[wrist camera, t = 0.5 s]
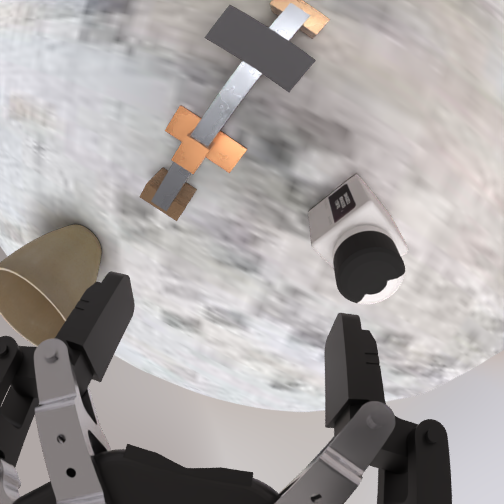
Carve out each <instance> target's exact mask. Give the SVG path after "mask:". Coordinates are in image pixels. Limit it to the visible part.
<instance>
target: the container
mask: <svg viewBox="0 0 504 504" xmlns="http://www.w3.org/2000/svg"><path fill="white" fill-rule="evenodd" d="M308 218H309V227H310V237H311V246H312V248H313V249H314V250H315V251H316V252H317V253H318V254H319V255H320V256H321V257H322V258H323V259H324V260H325V261H326V262H327V263H328V264H329V265H330V266H331V267H332V268H333V269H334V271H335V277H336V284H337V287H338V290H339V292H340V293H341V294H342V295H343V296H344V297H345V298H346V299H348V300H350V301H352V302H355V303H359V304H374V303H378V302H380V301H383V300H385V299H387V298H388V297H390V296H391V295H392V294H394V293H395V292H396V290H397V289H398V288H399V287H400V285H401V283H402V281H403V279H404V276H405V266H404V263H403V260H402V258H401V257H402V256H403V255H405V254H406V253H407V252H408V251H409V249H408V246H407V244H406V242H405V241H404V239H403V237H402V235H401V233H400V231H399V229H398V227H397V226H396V224H395V222H394V220H393V218H392V217H391V215H390V214H389V213H388V211H387V210H386V209H385V207H384V206H383V205H382V203H381V202H380V201H379V200H378V198H377V197H376V196H375V195H374V193H373V192H372V191H371V190H370V188H369V187H368V186H367V185H366V183H365V182H364V181H363V180H362V179H361V177H360V176H359V175H357V174H355V175H354V176H352V177H351V178H350V179H349V180H347V181H346V182H345V183H344V184H342V185H341V186H340V187H339V188H337V189H336V190H335V191H334V192H332V193H331V194H330V195H329V196H327V197H326V198H325V199H324V200H322V201H321V202H320V203H319V204H317V205H316V206H315V207H313V208H312V209H311V210H310V211H309V212H308Z"/></svg>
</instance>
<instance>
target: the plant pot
mask: <svg viewBox="0 0 504 504" xmlns="http://www.w3.org/2000/svg"><path fill="white" fill-rule="evenodd" d="M100 259H101V246H100V243H99V241H98V239H97V238H96V236H95V235H94V234H93V233H92V232H91V231H90V230H89V229H87V228H86V227H84V226H81V225H77V224H74V225H69V226H66V227H63V228H60V229H57V230H55V231H52V232H50V233H47V234H45V235H43V236H41V237H39V238H37V239H35V240H33V241H31V242H30V243H28V244H26V245H24V246H23V247H21V248H20V249H18V250H17V251H15V252H14V253H12V254H11V255H9V256H8V257H7V258H5V259H4V260H3V261H1V262H0V314H1V315H2V317H3V318H4V319H5V320H6V322H7V323H8V324H9V325H10V326H11V327H12V328H13V329H14V330H15V331H16V332H18V333H19V334H20V335H21V336H22V337H24V338H25V339H26V340H27V341H29V342H30V343H32V344H34V345H35V346H38V345H39V344H40V343H42V342H43V341H45V340H47V339H54V338H55V337H56V335H57V334H58V332H59V331H60V329H61V327H62V326H63V324H64V323H65V321H66V320H67V318H68V316H69V315H70V313H71V312H72V310H73V309H75V306H76V304H77V303H78V301H80V298H81V297H82V295H83V294H84V292H85V291H86V289H88V288H89V287H90V286H92V285H93V284H94V283H96V279H97V274H98V270H99V265H100Z"/></svg>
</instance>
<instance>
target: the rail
mask: <svg viewBox="0 0 504 504" xmlns="http://www.w3.org/2000/svg"><path fill="white" fill-rule="evenodd" d="M270 6H271V10H272V12H273V13H275V14H276V15H278V18H277V19H276V20H275V21H274V22H273V24H272V25H271V26H270V27H269V28H270V29H272V30H273V31H275V32H276V33H278V34H279V35H281V36H282V37H284V38H285V39H287V40H288V41H290V40H291V38H292V37H293V36H294V35H295V34H296V33H297V31H298V30H300V31H302V32H303V33H305V34H306V35H308V36H309V37H310V38H312V39H313V38H314V37H315V36H316V35H317V34H318V33H319V31H320V30H321V29H322V28H323V27H324V26H325V25H326V24H327V22H328V21H329V20H330V19H329V18H327V17H326V16H324V15H323V14H322V13H320V12H319V11H317V10H316V9H315V8H313V7H312V6H310V5H309V4H307V3H306V2H304V1H303V0H272V1H271V2H270ZM261 75H262V73H260V72H259V71H258V70H256V69H254V68H253V67H251V66H250V65H248V64H247V63H245V62H244V61H242V62H241V64H240V65H239V66H238V68H237V69H236V70H235V72H234V73H233V74H232V76H231V77H230V79H229V80H228V81H227V83H226V84H225V85H224V87H223V88H222V90H221V91H220V92H219V94H218V95H217V97H216V98H215V100H214V101H213V102H212V104H211V105H210V107H209V108H208V110H207V111H206V113H205V114H204V116H203V117H202V118H200V117H199V116H197V115H195V114H194V113H192V112H191V111H189V110H188V109H186V108H184V107H183V106H180V107H179V108H178V110H177V112H176V113H175V115H174V116H173V118H172V120H171V121H170V123H169V125H168V126H167V128H166V130H165V131H166V132H168V133H169V134H171V135H172V136H174V137H175V138H177V139H179V140H180V141H182V143H181V145H180V146H179V148H178V150H177V151H176V153H175V155H174V156H173V158H172V159H171V160H172V161H174V163H173V164H172V166H171V168H170V169H169V171H168V170H166V169H165V168H162V169H161V170H160V171H159V172H158V173H157V174H156V175H155V176H154V177H153V178H152V179H151V180H150V181H149V182H148V183H147V184H146V186H145V188H144V190H143V191H142V193H141V195H140V198H142V199H143V200H145V201H146V202H148V203H150V204H151V205H153V206H154V207H156V208H157V209H159V210H160V211H162V212H163V213H165V214H167V215H168V216H170V217H171V218H173V219H174V220H176V221H177V220H178V218H179V217H180V215H181V214H182V212H183V211H184V209H185V208H186V206H187V204H188V203H189V201H190V200H191V198H192V197H193V195H194V193H195V192H196V190H197V189H195V188H194V187H192V186H191V185H189V184H188V183H186V181H187V179H188V178H189V176H190V175H191V173H192V174H194V173H195V171H196V170H197V169H198V168H199V166H200V165H201V163H202V162H203V160H204V159H205V157H206V158H208V159H209V160H211V161H212V162H214V163H215V164H217V165H218V166H220V167H221V168H223V169H224V170H226V171H227V172H229V173H230V172H231V170H232V169H233V168H234V166H235V165H236V164H237V162H238V161H239V160H240V158H241V157H242V156H243V154H244V153H245V152H246V150H247V148H245V147H244V146H242V145H241V144H239V143H238V142H236V141H235V140H234V139H232V138H231V137H229V136H228V135H226V134H225V133H223V132H222V131H220V130H221V129H222V128H223V126H224V125H225V123H226V122H227V120H228V119H229V118H230V116H231V115H232V114H233V112H234V111H235V109H236V108H237V107H238V105H239V104H240V103H241V101H242V100H243V99H244V97H245V96H246V95H247V93H248V92H249V91H250V89H251V88H252V87H253V85H254V84H255V83H256V82H257V80H258V79H259V78H260V76H261Z"/></svg>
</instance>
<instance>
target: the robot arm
mask: <svg viewBox="0 0 504 504" xmlns="http://www.w3.org/2000/svg"><path fill="white" fill-rule="evenodd" d="M133 312H134V298H133V293H132V288H131V283H130V278H129V276H128V275H125V274H120V273H116V272H109V273H108V274H107V275H106V277H105V278H104V280H103V281H102V283H100V282H96V283H94V284H93V285H92V286H90V287H89V288H88V289H86V291H85V292H84V294H83V295H82V297H81V298H80V301H78V303H77V304H76V306H75V309H73V310H72V312H71V313H70V315H69V316H68V318H67V320H66V321H65V323H64V324H63V326H62V327H61V329H60V331H59V332H58V334H57V335H56V337H55V338H54V339H47V340H45V341H43V342H42V343H40V344H39V345H38V346H37V347H26V346H18V344H17V343H16V341H15V340H14V339H13V338H12V337H9V336H3V337H0V504H344V503H345V502H346V500H347V499H348V498H349V497H350V495H351V494H352V493H353V492H354V490H355V489H356V488H357V487H358V485H359V484H360V482H361V480H362V475H363V473H364V471H365V470H366V469H367V467H368V466H369V465H370V466H373V467H377V468H379V470H378V496H377V504H452V492H451V491H452V490H451V470H450V458H449V447H448V438H447V433H446V430H445V428H444V427H443V425H442V424H441V423H439V422H438V421H436V420H432V419H428V420H424V421H422V422H421V423H420V424H419V425H418V424H415V423H412V422H408V421H405V420H402V419H400V418H398V417H396V416H395V415H394V413H393V411H392V410H391V409H390V408H389V407H388V406H387V405H386V403H385V399H384V391H383V383H382V376H381V369H380V366H379V357H378V350H377V344H376V341H375V339H374V338H373V336H372V334H371V333H370V331H369V330H362V329H361V322H360V317H359V316H358V315H352V314H345V313H339V314H338V315H337V317H336V319H335V322H334V324H333V326H332V328H331V331H330V333H329V335H328V337H327V340H326V344H325V411H326V413H325V414H326V415H325V417H326V419H325V421H326V422H325V423H326V425H325V427H327V428H334V437H333V438H332V439H331V441H330V442H329V443H328V444H327V445H326V446H325V447H324V448H323V449H322V450H321V452H320V453H319V454H318V455H317V456H316V457H315V458H314V459H313V460H312V461H311V463H310V464H309V465H308V466H307V467H306V468H305V469H304V470H303V471H302V472H301V473H300V474H299V475H298V476H297V477H296V478H295V479H293V480H292V481H291V482H290V483H289V484H288V485H287V486H286V487H285V488H284V489H283V490H282V491H281V492H280V493H279V494H278V493H277V492H276V491H275V490H274V489H272V488H271V487H270V486H268V485H267V484H265V483H263V482H261V481H259V480H257V479H254V478H253V472H247V471H239V470H233V469H227V468H185V467H183V466H181V465H179V464H177V463H175V462H173V461H171V460H169V459H167V458H165V457H163V456H162V455H160V454H158V453H155V452H152V451H148V450H145V449H142V448H139V447H136V446H132V445H129V444H127V447H126V450H124V449H122V450H111V448H110V446H109V443H108V441H107V439H106V437H105V435H104V433H103V431H102V429H101V426H100V423H99V420H98V417H97V413H96V410H95V407H94V403H93V400H92V396H91V393H90V389H89V386H88V385H89V383H90V381H91V379H94V380H96V381H99V382H101V381H102V378H103V376H104V374H105V372H106V370H107V368H108V365H109V363H110V361H111V359H112V357H113V355H114V353H115V351H116V349H117V346H118V344H119V342H120V340H121V338H122V336H123V334H124V332H125V330H126V328H127V326H128V324H129V322H130V320H131V318H132V316H133ZM10 386H11V387H10ZM9 387H10V389H9ZM8 389H9V391H8ZM7 391H8V393H7ZM6 393H7V395H6ZM5 395H6V397H5ZM4 397H5V400H4V402H3V404H2V401H3V399H4ZM1 404H2V406H1ZM38 405H39V406H38ZM34 415H35V417H36V423H37V428H38V433H39V438H40V442H41V447H42V451H43V455H44V459H45V463H46V467H47V470H48V474H49V477H50V482H48V483H46V484H44V485H43V486H41V487H39V488H37V489H35V490H33V491H31V492H29V493H27V494H25V495H24V496H21V497H20V496H19V493H18V489H19V488H20V486H21V483H20V480H19V477H18V473H17V471H16V469H15V467H16V463H17V460H18V457H19V455H20V452H21V449H22V446H23V443H24V440H25V438H26V435H27V432H28V430H29V427H30V424H31V422H32V420H33V417H34Z"/></svg>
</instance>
